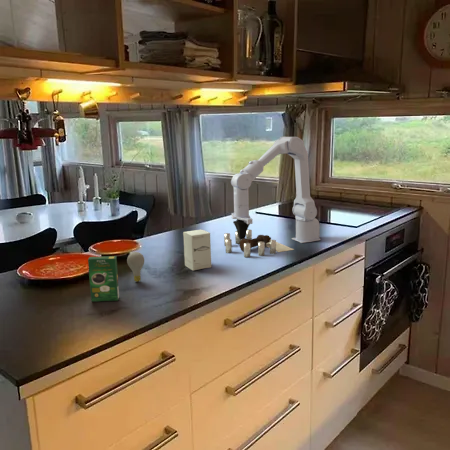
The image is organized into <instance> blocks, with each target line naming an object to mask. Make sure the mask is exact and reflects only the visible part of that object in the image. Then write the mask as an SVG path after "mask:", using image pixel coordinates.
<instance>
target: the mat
mask: <svg viewBox="0 0 450 450" xmlns="http://www.w3.org/2000/svg"><path fill="white" fill-rule="evenodd" d="M270 240H272V238H271V239H270ZM266 247H267V248H268V249H270V242H269V243H267V244H266V245H265V248H266ZM293 250H294V251H295V249H294V248H291V247H289V246H287V245H285V244H282V243H280V242H278V241H276V253H277V252H278V253H283V252H288V251H293Z"/></svg>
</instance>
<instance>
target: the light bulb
mask: <svg viewBox="0 0 450 450" xmlns="http://www.w3.org/2000/svg"><path fill="white" fill-rule="evenodd" d="M126 263H127V266H128V267H129V269H130V270H131V271H132V273H133V281H134V282H136V283H139V282H140V281H141V275H142V274H141V271H142V268H143V266H144V264H145V257H144V255H143V254H142V253H141V252H139V251H133V252H131V253H130V254H128V256H127V259H126Z"/></svg>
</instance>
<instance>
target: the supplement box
mask: <svg viewBox="0 0 450 450" xmlns="http://www.w3.org/2000/svg"><path fill="white" fill-rule="evenodd" d="M182 235H183V255H184V267H187V268H188V269H189V270H191V271H197V270H201V269H208V268H212V251H211V250H212V249H211V245H212V244H211V243H212V242H211V232H208V231H207V230H204V229H195V230H188V231H183V233H182Z"/></svg>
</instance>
